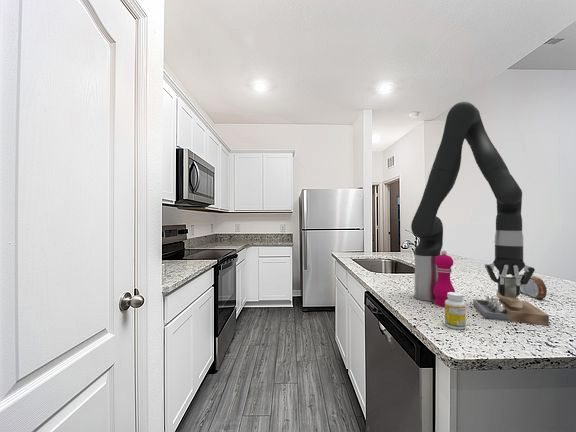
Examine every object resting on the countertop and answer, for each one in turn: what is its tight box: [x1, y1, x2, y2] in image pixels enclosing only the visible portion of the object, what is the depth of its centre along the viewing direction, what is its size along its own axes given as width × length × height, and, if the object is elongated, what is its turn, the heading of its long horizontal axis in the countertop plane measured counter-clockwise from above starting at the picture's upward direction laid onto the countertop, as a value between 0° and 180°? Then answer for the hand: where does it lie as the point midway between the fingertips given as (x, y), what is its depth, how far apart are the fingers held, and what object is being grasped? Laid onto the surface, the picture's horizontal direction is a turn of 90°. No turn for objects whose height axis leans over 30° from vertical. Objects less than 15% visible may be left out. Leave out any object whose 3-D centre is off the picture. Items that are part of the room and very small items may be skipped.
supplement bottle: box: [444, 291, 467, 330], centre depth 84 cm, size 5×5×10 cm
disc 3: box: [495, 302, 505, 314], centre depth 92 cm, size 4×4×2 cm
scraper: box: [496, 276, 523, 308], centre depth 95 cm, size 3×14×8 cm, turn 158°
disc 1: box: [485, 294, 494, 307], centre depth 101 cm, size 4×4×2 cm
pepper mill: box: [433, 250, 456, 308], centre depth 106 cm, size 7×7×20 cm
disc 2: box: [490, 297, 503, 310], centre depth 96 cm, size 4×4×2 cm
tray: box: [472, 298, 509, 322], centre depth 97 cm, size 6×16×2 cm, turn 158°
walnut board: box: [493, 297, 550, 327], centre depth 94 cm, size 10×16×3 cm, turn 158°
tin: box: [519, 273, 548, 300], centre depth 118 cm, size 15×3×8 cm, turn 168°
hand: (508, 295), depth 95 cm, fingers closed on scraper, 3 cm apart
